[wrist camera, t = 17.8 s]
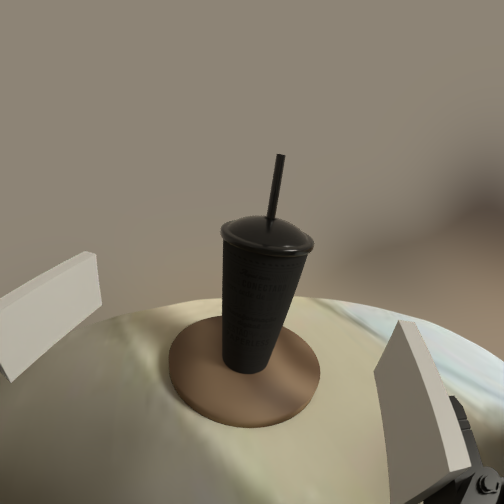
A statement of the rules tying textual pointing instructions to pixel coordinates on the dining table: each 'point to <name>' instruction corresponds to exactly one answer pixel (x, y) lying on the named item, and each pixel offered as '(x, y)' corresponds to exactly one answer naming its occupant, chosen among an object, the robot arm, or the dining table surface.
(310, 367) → the coaster board
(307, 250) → the drinking cup
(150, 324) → the dining table surface
